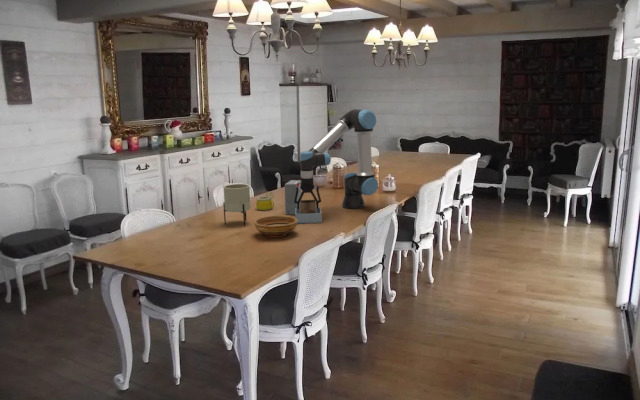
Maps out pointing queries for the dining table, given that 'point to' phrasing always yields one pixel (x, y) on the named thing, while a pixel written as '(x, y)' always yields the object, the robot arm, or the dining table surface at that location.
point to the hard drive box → (291, 196)
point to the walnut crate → (307, 206)
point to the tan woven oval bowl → (275, 225)
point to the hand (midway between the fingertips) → (308, 213)
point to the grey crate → (308, 217)
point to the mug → (265, 202)
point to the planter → (236, 199)
